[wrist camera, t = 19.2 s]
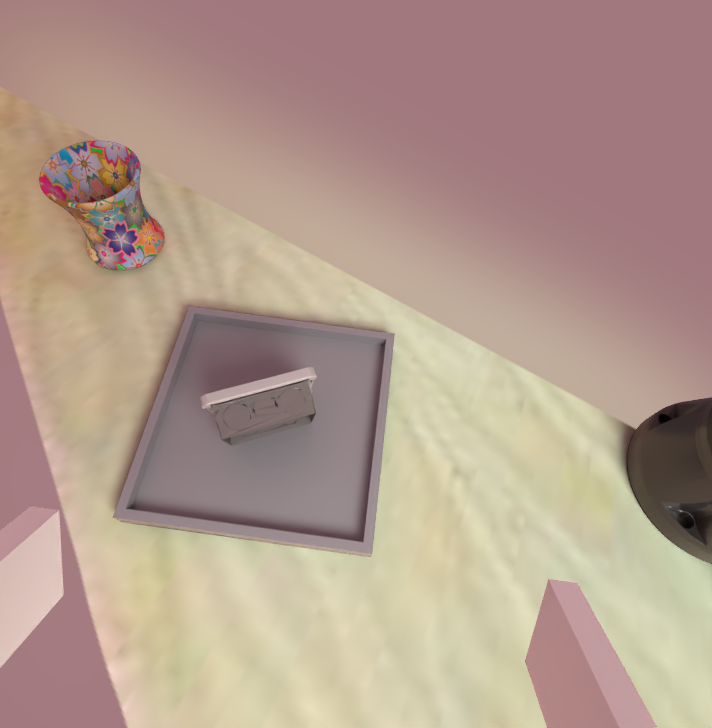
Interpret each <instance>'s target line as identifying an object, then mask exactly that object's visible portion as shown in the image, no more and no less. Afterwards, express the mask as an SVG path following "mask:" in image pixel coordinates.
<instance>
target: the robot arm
mask: <svg viewBox="0 0 712 728" xmlns="http://www.w3.org/2000/svg"><path fill="white" fill-rule="evenodd" d="M627 465H628V473H629V478H630V482H631V485H632V488H633V491H634V493H635V495H636V498H637V500H638V502H639V503H640V505H641V507H642V509H643V510H644V512H645V513H646V515H647V516H648V517H649V519H650V520H651V521H652V523H653V524H654V525H655V526H656V527H657V528H658V529H659V530H660V531H661V532H662V533H663V534H664V535H665V536H666V537H667V538H668V539H669V540H670V541H672V542H673V543H674V544H675V545H677V546H678V547H680V548H681V549H682V550H684V551H686V552H687V553H689V554H691V555H693V556H694V557H696V558H699V559H701V560H703V561H706V562H708V563H711V564H712V398H705V399H699V400H693V401H686V402H681V403H677V404H673V405H671V406H668V407H665V408H663V409H662V410H660V411H658V412H657V413H655V414H654V415H652V416H651V417H649V418H648V419H646V420H645V421H644V422H643V423H642V424H641V425H640V426H639V427H638V428H637V429H636V431H635V432H634V434H633V436H632V439H631V441H630V444H629V448H628V456H627ZM61 557H62V556H61V537H60V519H59V510H54V509H47V508H40V507H33V506H31V507H29V508H28V509H27V510H26V511H24V512H23V513H22V514H21V515H19V516H18V517H17V518H16V519H14V520H13V521H12V522H11V523H10V524H8V525H7V526H6V527H4V528H3V529H2V530H0V668H1V666H2V665H3V664H4V663H5V662H6V661H7V660H8V658H9V657H10V656H11V655H12V654H13V653H14V651H15V650H16V649H17V648H18V647H19V646H20V644H21V643H22V642H23V641H24V640H25V639H26V638H27V636H28V635H29V634H30V633H31V632H32V631H33V629H34V628H35V627H36V626H37V625H38V624H39V622H40V621H41V620H42V619H43V618H44V617H45V616H46V614H47V613H48V612H49V611H50V609H52V608H53V606H54V605H55V604H56V603H57V602H58V601H59V599H60V598H61V597H62V596H63V576H62V558H61ZM525 662H526V665H527V668H528V671H529V674H530V677H531V680H532V683H533V686H534V689H535V692H536V695H537V698H538V701H539V704H540V707H541V710H542V713H543V716H544V719H545V722H546V725H547V728H657V726H656V725H655V723H654V721H653V719H652V717H651V715H650V714H649V712H648V710H647V708H646V706H645V705H644V703H643V701H642V699H641V697H640V696H639V694H638V692H637V690H636V688H635V687H634V685H633V683H632V681H631V679H630V677H629V676H628V674H627V672H626V670H625V668H624V667H623V665H622V663H621V661H620V659H619V658H618V656H617V654H616V652H615V650H614V649H613V647H612V645H611V643H610V641H609V639H608V638H607V636H606V634H605V632H604V630H603V629H602V627H601V625H600V623H599V621H598V620H597V618H596V616H595V614H594V612H593V611H592V609H591V607H590V605H589V603H588V601H587V600H586V598H585V596H584V594H583V592H582V591H581V589H580V587H579V585H578V583H572V582H565V581H558V580H550V579H548V583H547V586H546V590H545V593H544V597H543V600H542V604H541V607H540V611H539V614H538V618H537V621H536V625H535V628H534V632H533V635H532V639H531V642H530V646H529V649H528V653H527V656H526V660H525Z"/></svg>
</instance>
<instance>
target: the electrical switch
mask: <svg viewBox="0 0 712 728" xmlns="http://www.w3.org/2000/svg"><path fill="white" fill-rule="evenodd" d="M316 377H317V376H316V373H315V371H314V368H313V367H308V368H304V369H300V370H296V371H292V372H288V373H285V374H281V375H277V376H273V377H269V378H266V379H262V380H258V381H254V382H250V383H246V384H242V385H239V386H235V387H231V388H227V389H223V390H220V391H216V392H212V393H208V394H205V395H203V396H201V397H200V400H201V406H202V408H203V409H205V408H206V409H207V410H208V411H209V412H210V413H211V414H212V415H213V416H214V418H215V421H216V423H217V426H218V429H219V432H220V435H221V440H223V441H224V442H226V443H228V444H230V445H231V446H232V445H237V444H240V443H244V442H247V441H251V440H254V439H258V438H261V437H265V436H268V435H272V434H275V433H279V432H282V431H286V430H289V429H293V428H296V427H300V426H303V425H307V424H310V420H311V423H312V421H313V419H314V417H315V415H316V411H315V408H314V403H313V397H312V394H311V393H312V390H311V388H312V384H313V381H314V379H316ZM309 417H310V419H309ZM282 423H283V424H285V425H283V424H282ZM293 423H294V424H293ZM254 434H255V435H254ZM230 438H231V439H230ZM231 441H232V444H231Z"/></svg>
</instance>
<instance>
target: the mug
mask: <svg viewBox="0 0 712 728" xmlns="http://www.w3.org/2000/svg"><path fill="white" fill-rule="evenodd" d="M140 171H141V168H140V162H139V160H138V158H137V156H136V155H135V154H134V153H133V152H132V151H131V150H130V149H129V148H127V147H125V146H123V145H121V144H118V143H115V142H110V141H87V142H81V143H77V144H74V145H71V146H69V147H66V148H64V149H62V150H61V151H59V152H57V153H56V154H54V155H53V156H52V157H51V158H50V159H49V160H48V161H47V162H46V163H45V165H44V166H43V168H42V170H41V172H40V177H39V181H40V186H41V189H42V191H43V192H44V194H45V195H46V196H47V197H48V198H49V199H51V200H52V201H54V202H55V203H57V204H59V205H60V206H62V207H63V208H64V209H66V210H67V211H68V212H69V213H70V214H71V215H72V216H73V217H74V218H75V219H76V220H77V221H78V222H79V224H80V225H81V227H82V228H83V230H84V232H85V235H86V238H87V251H88V254H89V256H90V257H91V259H92V260H93V261H94V262H95V263H97V264H98V265H100V266H102V267H104V268H107V269H111V270H130V269H134V268H137V267H140V266H142V265H145V264H146V263H148V262H150V261H151V260H152V259H153V258H155V257H156V256H157V254H158V253H159V252H160V250H161V248H162V246H163V243H164V232H163V229H162V227H161V226H160V224H159V223H158V222H157V221H156V220H154V219H153V218H152V217H150V215H149V214H148V213H147V211H146V209H145V207H144V205H143V203H142V199H141V195H140V188H139V179H140Z"/></svg>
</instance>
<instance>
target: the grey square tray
mask: <svg viewBox="0 0 712 728" xmlns="http://www.w3.org/2000/svg"><path fill="white" fill-rule="evenodd" d="M393 344H394V334H393V333H386V332H378V331H371V330H364V329H356V328H349V327H341V326H334V325H327V324H319V323H312V322H304V321H297V320H290V319H282V318H275V317H267V316H260V315H252V314H245V313H238V312H230V311H223V310H215V309H208V308H201V307H193V306H189V308H188V311H187V313H186V316H185V319H184V322H183V325H182V327H181V330H180V333H179V336H178V338H177V341H176V344H175V347H174V349H173V352H172V355H171V358H170V361H169V363H168V366H167V369H166V372H165V374H164V377H163V380H162V383H161V385H160V388H159V391H158V394H157V396H156V399H155V402H154V405H153V408H152V410H151V413H150V416H149V419H148V421H147V424H146V427H145V430H144V432H143V435H142V438H141V441H140V444H139V446H138V449H137V452H136V455H135V457H134V460H133V463H132V466H131V468H130V471H129V474H128V477H127V479H126V482H125V485H124V488H123V491H122V493H121V496H120V499H119V502H118V504H117V507H116V510H115V513H114V515H113V518H115V519H117V520H119V521H121V522H126V523H133V524H140V525H147V526H154V527H161V528H168V529H176V530H183V531H190V532H197V533H204V534H211V535H218V536H225V537H232V538H239V539H246V540H253V541H261V542H268V543H275V544H282V545H289V546H296V547H303V548H310V549H317V550H324V551H331V552H338V553H345V554H353V555H360V556H367V557H370V556H371V555H372V549H373V540H374V530H375V520H376V510H377V501H378V491H379V481H380V471H381V461H382V452H383V442H384V432H385V422H386V412H387V403H388V393H389V383H390V373H391V364H392V354H393ZM308 367H313V368H314V371H315V373H316V376H317V377H316V379H314V381H313V384H312V388H311V390H312V393H311V394H312V397H313V403H314V408H315V411H316V415H315V417H314V419H313V421H312V423H311V420H310V424H307V425H303V426H300V427H296V428H293V429H289V430H286V431H282V432H279V433H275V434H272V435H268V436H265V437H261V438H258V439H254V440H251V441H247V442H244V443H240V444H237V445H232V446H231V445H230V444H228V443H226V442H224V441H223V440H221V435H220V432H219V429H218V426H217V423H216V421H215V418H214V416H213V415H212V414H211V413H210V412H209V411H208V410H207V409H206V408H205V409H203V408H202V406H201V400H200V397H201V396H203V395H205V394H208V393H212V392H216V391H220V390H223V389H227V388H231V387H235V386H239V385H242V384H246V383H250V382H254V381H258V380H262V379H266V378H269V377H273V376H277V375H281V374H285V373H288V372H292V371H296V370H300V369H304V368H308ZM309 419H310V417H309ZM282 424H283V423H282ZM293 424H294V423H293ZM283 425H285V424H283ZM254 435H255V434H254ZM230 439H231V438H230ZM231 444H232V441H231Z"/></svg>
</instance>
